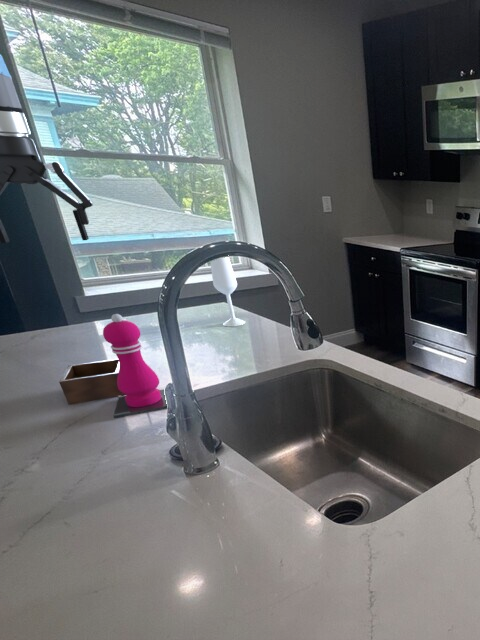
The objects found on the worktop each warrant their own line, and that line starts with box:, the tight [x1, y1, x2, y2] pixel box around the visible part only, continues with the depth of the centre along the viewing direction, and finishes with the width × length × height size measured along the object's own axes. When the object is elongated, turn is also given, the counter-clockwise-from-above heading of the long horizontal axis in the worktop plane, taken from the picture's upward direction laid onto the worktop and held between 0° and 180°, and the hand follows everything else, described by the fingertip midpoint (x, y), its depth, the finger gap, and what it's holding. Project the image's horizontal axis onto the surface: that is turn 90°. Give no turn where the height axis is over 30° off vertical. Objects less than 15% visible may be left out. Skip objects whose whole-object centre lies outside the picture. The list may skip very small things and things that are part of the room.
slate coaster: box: [113, 388, 168, 419], centre depth 104 cm, size 10×10×1 cm
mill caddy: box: [58, 358, 126, 405], centre depth 108 cm, size 10×10×6 cm
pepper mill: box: [102, 313, 161, 407], centre depth 100 cm, size 7×7×20 cm
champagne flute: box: [209, 256, 246, 327], centre depth 150 cm, size 7×7×24 cm
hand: (47, 241), depth 106 cm, fingers open, 13 cm apart
